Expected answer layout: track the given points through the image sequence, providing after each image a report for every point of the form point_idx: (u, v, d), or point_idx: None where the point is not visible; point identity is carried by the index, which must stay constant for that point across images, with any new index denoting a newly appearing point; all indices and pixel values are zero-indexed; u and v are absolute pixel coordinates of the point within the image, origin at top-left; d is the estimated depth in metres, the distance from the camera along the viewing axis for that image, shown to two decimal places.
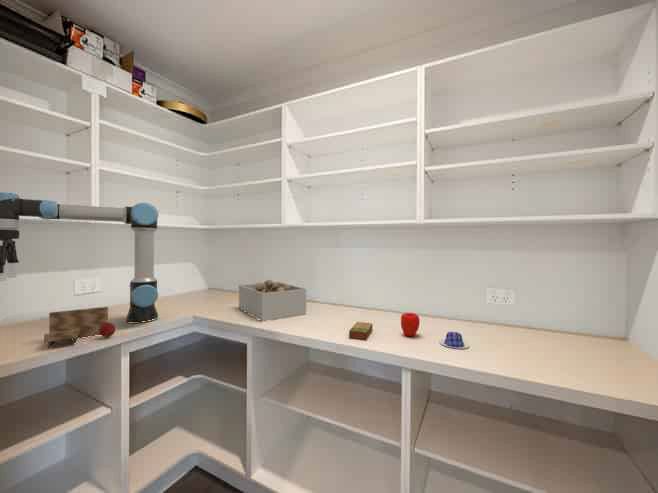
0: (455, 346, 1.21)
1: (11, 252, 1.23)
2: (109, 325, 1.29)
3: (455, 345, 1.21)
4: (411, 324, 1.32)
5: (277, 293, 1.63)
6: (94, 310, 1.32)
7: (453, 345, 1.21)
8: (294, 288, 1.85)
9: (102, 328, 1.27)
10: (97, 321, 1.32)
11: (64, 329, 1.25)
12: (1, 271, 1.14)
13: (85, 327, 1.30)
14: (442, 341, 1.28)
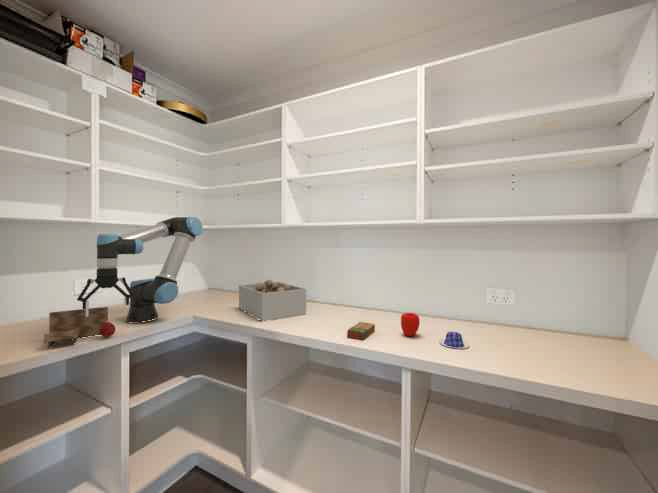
0: (455, 346, 1.21)
1: (116, 288, 1.31)
2: (109, 325, 1.29)
3: (455, 345, 1.21)
4: (411, 324, 1.32)
5: (277, 293, 1.63)
6: (94, 310, 1.32)
7: (453, 345, 1.21)
8: (294, 288, 1.85)
9: (102, 328, 1.27)
10: (97, 321, 1.32)
11: (64, 329, 1.25)
12: None
13: (85, 327, 1.30)
14: (442, 341, 1.28)
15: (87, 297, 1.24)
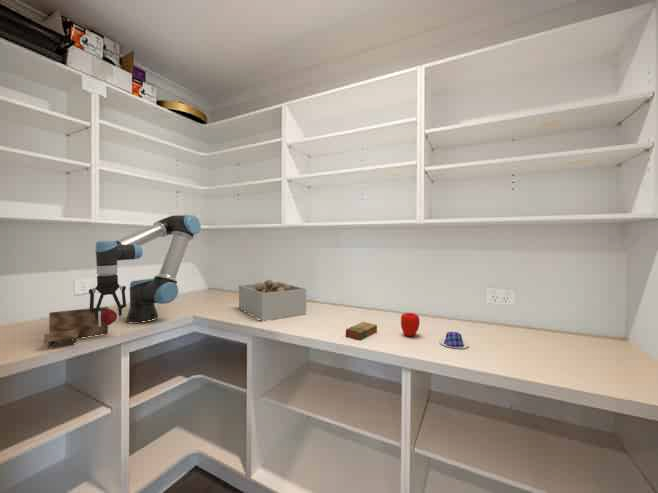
0: (455, 346, 1.21)
1: (113, 296, 1.30)
2: (110, 312, 1.29)
3: (455, 345, 1.21)
4: (411, 324, 1.32)
5: (277, 293, 1.63)
6: None
7: (453, 345, 1.22)
8: (294, 288, 1.85)
9: (103, 315, 1.28)
10: (97, 321, 1.32)
11: (64, 329, 1.25)
12: (95, 317, 1.27)
13: (85, 327, 1.30)
14: (442, 341, 1.28)
15: (97, 307, 1.27)
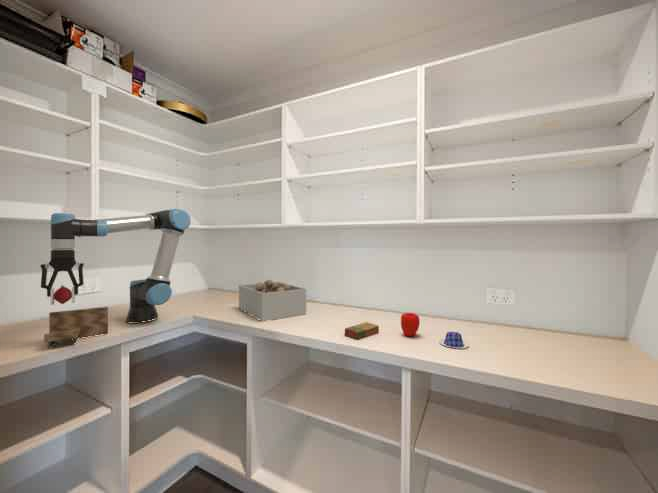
0: (454, 346, 1.21)
1: (68, 273, 1.22)
2: (64, 290, 1.20)
3: (454, 345, 1.21)
4: (411, 324, 1.32)
5: (277, 293, 1.63)
6: (94, 310, 1.32)
7: (452, 345, 1.22)
8: (294, 288, 1.85)
9: (56, 292, 1.19)
10: (97, 321, 1.32)
11: (64, 329, 1.25)
12: (47, 295, 1.18)
13: (85, 327, 1.30)
14: (442, 341, 1.28)
15: (50, 284, 1.18)
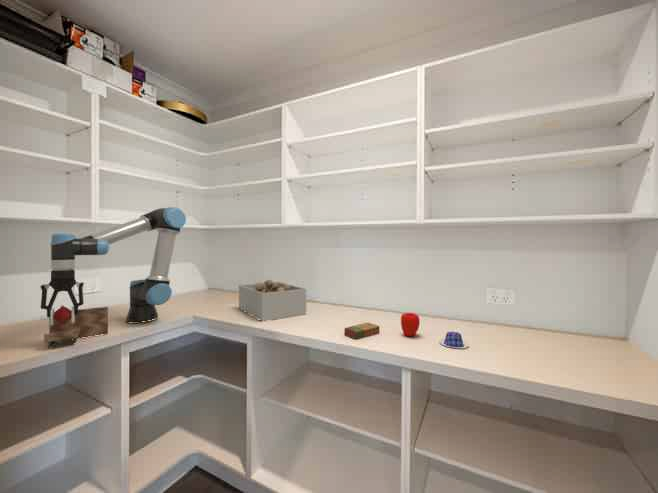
0: (453, 346, 1.21)
1: (68, 293, 1.22)
2: (64, 310, 1.20)
3: (454, 345, 1.21)
4: (411, 324, 1.32)
5: (277, 293, 1.63)
6: (94, 310, 1.32)
7: (451, 345, 1.22)
8: (294, 288, 1.85)
9: (56, 313, 1.19)
10: (97, 321, 1.32)
11: (64, 329, 1.25)
12: (47, 315, 1.18)
13: (85, 327, 1.30)
14: (442, 341, 1.29)
15: (50, 304, 1.18)
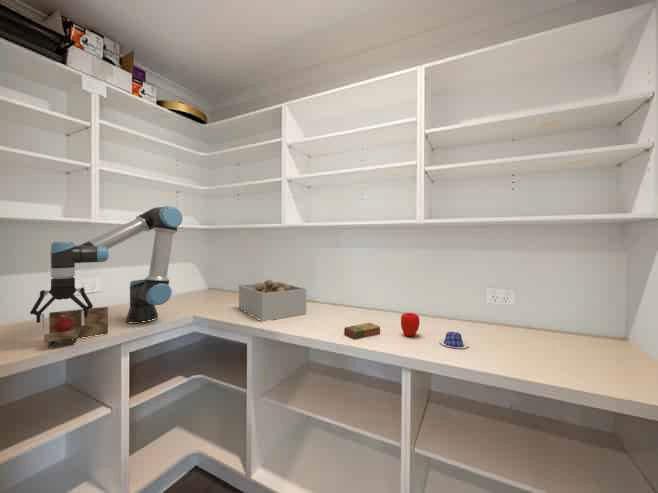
0: (453, 346, 1.21)
1: (73, 300, 1.23)
2: (65, 320, 1.21)
3: (453, 345, 1.21)
4: (411, 324, 1.32)
5: (277, 293, 1.63)
6: (94, 310, 1.32)
7: (451, 345, 1.22)
8: (294, 288, 1.85)
9: (57, 323, 1.19)
10: (97, 321, 1.32)
11: None
12: None
13: (85, 327, 1.30)
14: (443, 340, 1.29)
15: (41, 310, 1.17)
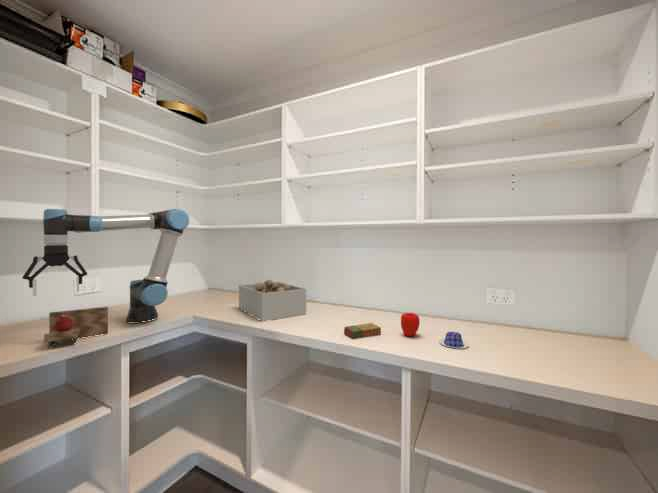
0: (452, 346, 1.21)
1: (67, 267, 1.25)
2: (65, 320, 1.21)
3: (453, 345, 1.21)
4: (411, 324, 1.32)
5: (277, 293, 1.63)
6: (94, 310, 1.32)
7: (451, 344, 1.22)
8: (294, 288, 1.85)
9: (57, 323, 1.19)
10: (97, 321, 1.32)
11: None
12: (29, 286, 1.18)
13: (85, 327, 1.30)
14: (443, 340, 1.29)
15: (34, 275, 1.18)
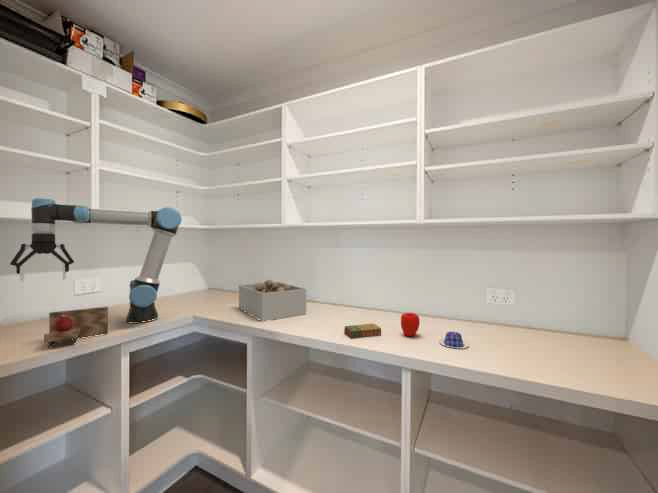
0: (452, 345, 1.22)
1: (53, 254, 1.29)
2: (65, 320, 1.21)
3: (452, 345, 1.22)
4: (411, 324, 1.32)
5: (277, 293, 1.63)
6: (94, 310, 1.32)
7: (450, 344, 1.22)
8: (294, 288, 1.85)
9: (57, 323, 1.19)
10: (97, 321, 1.32)
11: None
12: (16, 272, 1.22)
13: (85, 327, 1.30)
14: (443, 340, 1.29)
15: (21, 262, 1.23)
